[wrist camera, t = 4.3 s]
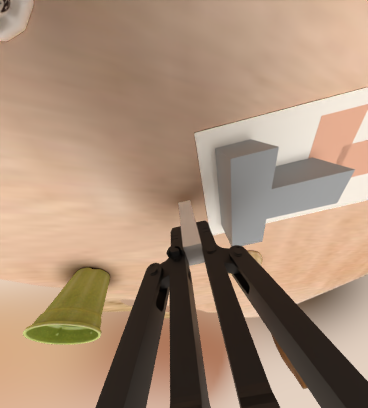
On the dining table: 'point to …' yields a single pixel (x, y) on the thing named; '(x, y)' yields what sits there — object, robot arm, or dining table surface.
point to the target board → (296, 145)
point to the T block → (270, 187)
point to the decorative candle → (14, 17)
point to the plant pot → (73, 311)
